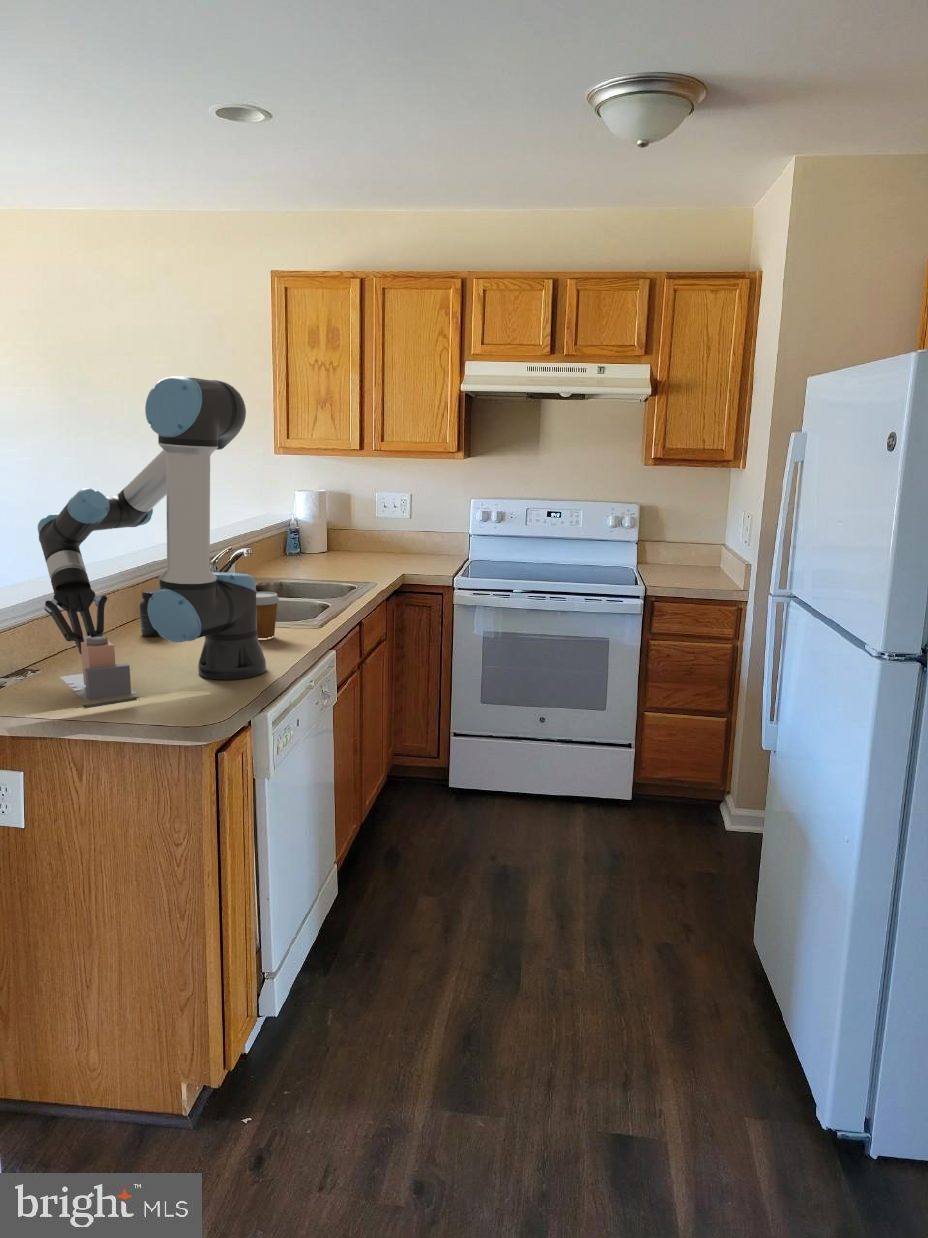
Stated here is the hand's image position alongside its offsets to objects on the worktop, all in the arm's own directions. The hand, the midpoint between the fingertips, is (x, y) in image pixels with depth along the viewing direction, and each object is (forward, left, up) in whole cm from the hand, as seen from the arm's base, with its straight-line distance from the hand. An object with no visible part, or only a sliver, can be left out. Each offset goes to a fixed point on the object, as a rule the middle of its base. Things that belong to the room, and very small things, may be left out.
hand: (93, 664), depth 181 cm
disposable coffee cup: (-16, -54, -6) cm, 57 cm away
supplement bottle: (+14, -52, -6) cm, 54 cm away
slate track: (-1, +1, -6) cm, 6 cm away
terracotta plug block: (-3, +3, -4) cm, 6 cm away
